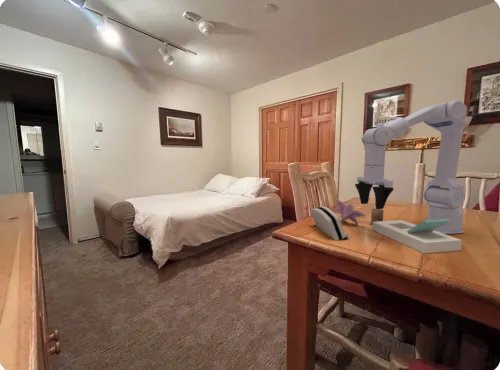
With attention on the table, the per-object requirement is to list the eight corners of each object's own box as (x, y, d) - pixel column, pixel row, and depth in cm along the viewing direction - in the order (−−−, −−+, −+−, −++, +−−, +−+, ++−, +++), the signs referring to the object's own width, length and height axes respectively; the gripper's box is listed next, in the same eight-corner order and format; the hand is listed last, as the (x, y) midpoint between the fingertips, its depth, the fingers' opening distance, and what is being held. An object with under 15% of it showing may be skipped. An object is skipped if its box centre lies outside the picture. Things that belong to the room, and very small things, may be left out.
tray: (400, 227, 80) (401, 220, 80) (460, 250, 61) (461, 239, 60) (372, 229, 78) (372, 221, 78) (424, 253, 59) (425, 242, 59)
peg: (377, 223, 87) (378, 208, 86) (385, 226, 83) (386, 210, 82) (368, 223, 86) (369, 208, 85) (375, 226, 82) (376, 211, 81)
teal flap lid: (430, 229, 68) (448, 218, 62) (431, 232, 67) (450, 221, 61) (406, 231, 66) (423, 219, 61) (408, 233, 66) (425, 222, 60)
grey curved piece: (350, 240, 69) (341, 211, 67) (337, 245, 69) (328, 217, 67) (327, 224, 85) (319, 201, 84) (316, 228, 85) (308, 205, 84)
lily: (367, 232, 79) (371, 208, 81) (340, 221, 77) (345, 196, 79) (345, 232, 90) (350, 210, 93) (321, 222, 88) (326, 200, 91)
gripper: (349, 164, 77) (348, 202, 79) (378, 166, 63) (375, 211, 64) (368, 164, 78) (366, 201, 79) (400, 166, 63) (397, 210, 65)
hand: (371, 206), depth 72 cm, fingers open, 7 cm apart
